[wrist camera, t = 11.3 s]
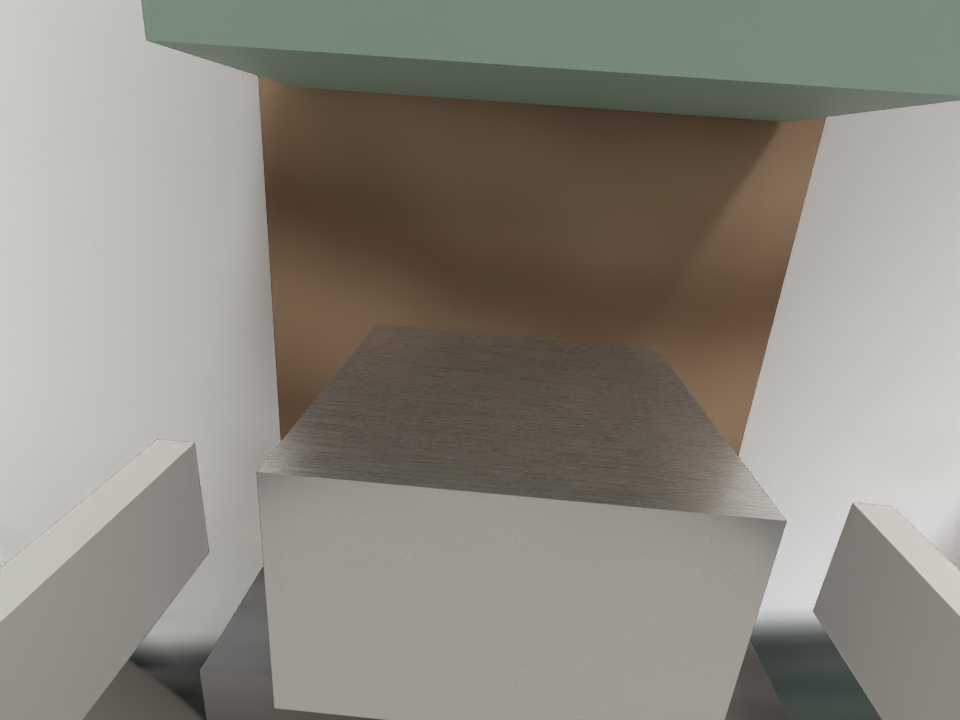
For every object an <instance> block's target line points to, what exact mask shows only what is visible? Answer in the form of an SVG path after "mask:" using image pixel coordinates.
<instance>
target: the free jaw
mask: <svg viewBox="0 0 960 720" xmlns="http://www.w3.org/2000/svg"><path fill="white" fill-rule="evenodd" d="M141 1H142V10H143V18H144V26H145V34H146V40H147V41H150V42H154V43H157V44H160V45H163V46H166V47H169V48H173V49H176V50H179V51H182V52H185V53H188V54H192V55H195V56H198V57H201V58H204V59H207V60H211V61H214V62H217V63H220V64H223V65H226V66H230V67H233V68H236V69H239V70H242V71H245V72H249V73H252V74H255V75H258V76H261V77H264V78H268V79H271V80H274V81H277V82H280V83H283V84H287V85H290V86H293V87H299V88H313V89H327V90H342V91H356V92H370V93H384V94H398V95H413V96H427V97H441V98H455V99H470V100H484V101H498V102H512V103H527V104H541V105H555V106H569V107H584V108H598V109H612V110H626V111H641V112H655V113H669V114H683V115H697V116H712V117H726V118H740V119H754V120H769V121H783V122H788V121H796V120H804V119H812V118H820V117H828V116H836V115H844V114H852V113H860V112H868V111H876V110H884V109H892V108H900V107H908V106H916V105H924V104H932V103H940V102H948V101H956V100H960V0H141Z"/></svg>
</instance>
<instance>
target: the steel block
mask: <svg viewBox="0 0 960 720" xmlns="http://www.w3.org/2000/svg"><path fill="white" fill-rule="evenodd" d="M256 473H257V486H258V499H259V512H260V525H261V538H262V551H263V564H264V577H265V590H266V603H267V616H268V630H269V643H270V656H271V669H272V682H273V695H274V708H278V709H287V710H297V711H307V712H316V713H326V714H335V715H345V716H355V717H364V718H374V719H383V720H725V717H726V714H727V711H728V707H729V704H730V701H731V698H732V695H733V691H734V688H735V685H736V682H737V679H738V675H739V672H740V669H741V666H742V663H743V659H744V656H745V653H746V650H747V647H748V643H749V640H750V637H751V634H752V631H753V627H754V624H755V621H756V618H757V615H758V611H759V608H760V605H761V602H762V598H763V595H764V592H765V589H766V586H767V582H768V579H769V576H770V573H771V570H772V566H773V563H774V560H775V557H776V554H777V550H778V547H779V544H780V541H781V538H782V534H783V531H784V528H785V525H786V522H787V521H786V519H785V518H784V517H783V515H782V514H781V513H780V511H779V510H778V509H777V507H776V506H775V505H774V503H773V502H772V501H771V499H770V498H769V497H768V495H767V494H766V493H765V491H764V490H763V489H762V487H761V486H760V485H759V483H758V482H757V481H756V479H755V478H754V477H753V475H752V474H751V473H750V471H749V470H748V469H747V467H746V466H745V465H744V463H743V462H742V461H741V459H740V458H739V457H738V455H737V454H736V453H735V451H734V450H733V449H732V448H731V446H730V445H729V444H728V442H727V441H726V440H725V438H724V437H723V436H722V434H721V433H720V432H719V430H718V429H717V428H716V426H715V425H714V424H713V422H712V421H711V420H710V418H709V417H708V416H707V414H706V413H705V412H704V410H703V409H702V408H701V406H700V405H699V404H698V402H697V401H696V400H695V398H694V397H693V396H692V394H691V393H690V392H689V390H688V389H687V388H686V386H685V385H684V384H683V382H682V381H681V380H680V378H679V377H678V376H677V374H676V373H675V372H674V370H673V369H672V368H671V366H670V365H669V364H668V362H667V361H666V360H665V358H664V357H663V356H662V354H661V353H660V352H659V350H658V349H657V348H652V347H641V346H629V345H617V344H605V343H594V342H582V341H570V340H558V339H547V338H535V337H523V336H512V335H500V334H488V333H476V332H465V331H453V330H441V329H429V328H418V327H406V326H394V325H382V324H376V325H375V326H374V328H373V329H372V330H371V331H370V332H369V334H368V335H367V336H366V337H365V339H364V340H363V341H362V342H361V344H360V345H359V346H358V347H357V348H356V350H355V351H354V352H353V353H352V355H351V356H350V357H349V358H348V360H347V361H346V362H345V363H344V364H343V366H342V367H341V368H340V369H339V371H338V372H337V373H336V374H335V376H334V377H333V378H332V379H331V380H330V382H329V383H328V384H327V385H326V387H325V388H324V389H323V390H322V392H321V393H320V394H319V395H318V397H317V398H316V399H315V400H314V401H313V403H312V404H311V405H310V406H309V408H308V409H307V410H306V411H305V413H304V414H303V415H302V416H301V417H300V419H299V420H298V421H297V422H296V424H295V425H294V426H293V427H292V429H291V430H290V431H289V432H288V433H287V435H286V436H285V437H284V438H283V440H282V441H281V442H280V443H279V445H278V446H277V447H276V448H275V450H274V451H273V452H272V453H271V454H270V456H269V457H268V458H267V459H266V461H265V462H264V463H263V464H262V466H261V467H260V468H259V469H258V470H257V472H256Z"/></svg>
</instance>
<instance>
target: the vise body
mask: <svg viewBox="0 0 960 720" xmlns="http://www.w3.org/2000/svg"><path fill="white" fill-rule="evenodd" d="M258 79H259V95H260V111H261V128H262V144H263V160H264V176H265V192H266V209H267V225H268V241H269V257H270V274H271V290H272V306H273V322H274V338H275V355H276V371H277V387H278V403H279V420H280V436H281V441H282V440H283V438H284V437H285V436H286V435H287V433H288V432H289V431H290V430H291V429H292V427H293V426H294V425H295V424H296V422H297V421H298V420H299V419H300V417H301V416H302V415H303V414H304V413H305V411H306V410H307V409H308V408H309V406H310V405H311V404H312V403H313V401H314V400H315V399H316V398H317V397H318V395H319V394H320V393H321V392H322V390H323V389H324V388H325V387H326V385H327V384H328V383H329V382H330V380H331V379H332V378H333V377H334V376H335V374H336V373H337V372H338V371H339V369H340V368H341V367H342V366H343V364H344V363H345V362H346V361H347V360H348V358H349V357H350V356H351V355H352V353H353V352H354V351H355V350H356V348H357V347H358V346H359V345H360V344H361V342H362V341H363V340H364V339H365V337H366V336H367V335H368V334H369V332H370V331H371V330H372V329H373V328H374V326H375V325H376V324H382V325H394V326H406V327H418V328H429V329H441V330H453V331H465V332H476V333H488V334H500V335H512V336H523V337H535V338H547V339H558V340H570V341H582V342H594V343H605V344H617V345H629V346H641V347H652V348H657V349H658V350H659V352H660V353H661V354H662V356H663V357H664V358H665V360H666V361H667V362H668V364H669V365H670V366H671V368H672V369H673V370H674V372H675V373H676V374H677V376H678V377H679V378H680V380H681V381H682V382H683V384H684V385H685V386H686V388H687V389H688V390H689V392H690V393H691V394H692V396H693V397H694V398H695V400H696V401H697V402H698V404H699V405H700V406H701V408H702V409H703V410H704V412H705V413H706V414H707V416H708V417H709V418H710V420H711V421H712V422H713V424H714V425H715V426H716V428H717V429H718V430H719V432H720V433H721V434H722V436H723V437H724V438H725V440H726V441H727V442H728V444H729V445H730V446H731V448H732V449H733V450H734V451H735V453H736V454H737V455H739V451H740V447H741V443H742V439H743V435H744V431H745V428H746V424H747V420H748V416H749V412H750V408H751V405H752V401H753V397H754V393H755V389H756V385H757V381H758V378H759V374H760V370H761V366H762V362H763V358H764V354H765V351H766V347H767V343H768V339H769V335H770V331H771V327H772V324H773V320H774V316H775V312H776V308H777V304H778V300H779V297H780V293H781V289H782V285H783V281H784V277H785V273H786V270H787V266H788V262H789V258H790V254H791V250H792V246H793V243H794V239H795V235H796V231H797V227H798V223H799V220H800V216H801V212H802V208H803V204H804V200H805V196H806V193H807V189H808V185H809V181H810V177H811V173H812V169H813V166H814V162H815V158H816V154H817V150H818V146H819V142H820V139H821V135H822V131H823V127H824V123H825V119H826V117H820V118H812V119H804V120H796V121H788V122H783V121H769V120H754V119H740V118H726V117H712V116H697V115H683V114H669V113H655V112H641V111H626V110H612V109H598V108H584V107H569V106H555V105H541V104H527V103H512V102H498V101H484V100H470V99H455V98H441V97H427V96H413V95H398V94H384V93H370V92H356V91H342V90H327V89H313V88H299V87H293V86H290V85H287V84H283V83H280V82H277V81H274V80H271V79H268V78H264V77H261V76H258ZM200 677H201V684H202V691H203V698H204V705H205V712H206V719H207V720H383V719H374V718H364V717H355V716H345V715H335V714H326V713H316V712H307V711H297V710H287V709H278V708H274V695H273V682H272V669H271V656H270V643H269V630H268V616H267V603H266V590H265V577H264V566H263V568H262V569H261V571H260V572H259V574H258V576H257V577H256V579H255V581H254V582H253V584H252V586H251V587H250V589H249V591H248V592H247V594H246V595H245V597H244V599H243V600H242V602H241V604H240V605H239V607H238V609H237V610H236V612H235V614H234V615H233V617H232V619H231V620H230V622H229V623H228V625H227V627H226V628H225V630H224V632H223V633H222V635H221V637H220V638H219V640H218V642H217V643H216V645H215V646H214V648H213V650H212V651H211V653H210V655H209V656H208V658H207V660H206V661H205V663H204V665H203V666H202V668H201V670H200ZM725 720H789V719H788V717H787V714H786V712H785V710H784V708H783V706H782V704H781V702H780V700H779V698H778V696H777V694H776V692H775V690H774V688H773V686H772V684H771V682H770V680H769V678H768V676H767V674H766V672H765V670H764V668H763V666H762V663H761V661H760V659H759V657H758V655H757V653H756V651H755V649H754V647H753V645H752V643H751V641H750V640H749V643H748V647H747V650H746V653H745V656H744V659H743V663H742V666H741V669H740V672H739V675H738V679H737V682H736V685H735V688H734V691H733V695H732V698H731V701H730V704H729V707H728V711H727V714H726V717H725Z"/></svg>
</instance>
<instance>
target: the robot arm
mask: <svg viewBox="0 0 960 720" xmlns="http://www.w3.org/2000/svg"><path fill="white" fill-rule="evenodd" d="M208 553H209V547H208V540H207V532H206V525H205V517H204V509H203V502H202V494H201V487H200V479H199V472H198V464H197V457H196V449H195V443H193V442H182V441H171V440H160V439H157V440H156V441H155V442H154V443H153V444H151V445H150V446H149V447H148V448H146V449H145V450H144V451H143V452H142V453H140V454H139V455H138V456H137V457H135V458H134V459H133V460H132V461H131V462H129V463H128V464H127V465H126V466H124V467H123V468H122V469H121V470H120V471H118V472H117V473H116V474H115V475H114V476H112V477H111V478H110V479H109V480H107V481H106V482H105V483H104V484H103V485H101V486H100V487H99V488H98V489H96V490H95V491H94V492H93V493H92V494H90V495H89V496H88V497H87V498H85V499H84V500H83V501H82V502H81V503H79V504H78V505H77V506H76V507H74V508H73V509H72V510H71V511H70V512H68V513H67V514H66V515H65V516H63V517H62V518H61V519H60V520H59V521H57V522H56V523H55V524H54V525H52V526H51V527H50V528H49V529H48V530H46V531H45V532H44V533H43V534H41V535H40V536H39V537H38V538H37V539H35V540H34V541H33V542H32V543H30V544H29V545H28V546H27V547H26V548H24V549H23V550H22V551H21V552H19V553H18V554H17V555H16V556H15V557H13V558H12V559H11V560H10V561H8V562H7V563H6V564H5V565H4V566H2V567H1V568H0V720H83V719H84V717H85V716H86V715H87V713H88V712H89V711H90V709H91V708H92V707H93V705H94V704H95V703H96V701H97V700H98V699H99V697H100V696H101V695H102V693H103V692H104V691H105V689H106V688H107V687H108V685H109V684H110V683H111V682H112V680H113V679H114V678H115V676H116V675H117V673H118V672H119V671H120V670H121V668H122V667H123V666H124V664H125V663H126V662H127V660H128V659H129V658H130V656H131V655H132V654H133V652H134V651H135V650H136V648H137V647H138V646H139V644H140V643H141V642H142V641H143V639H144V638H145V637H146V635H147V634H148V633H149V631H150V630H151V629H152V627H153V626H154V625H155V623H156V622H157V621H158V619H159V618H160V617H161V615H162V614H163V613H164V611H165V610H166V609H167V607H168V606H169V605H170V603H171V602H172V601H173V599H174V598H175V597H176V596H177V594H178V593H179V592H180V590H181V589H182V588H183V586H184V585H185V584H186V582H187V581H188V580H189V578H190V577H191V576H192V574H193V573H194V572H195V570H196V569H197V568H198V566H199V565H200V564H201V562H202V561H203V560H204V558H205V557H206V556H207V554H208ZM813 612H814V614H815V615H816V617H817V618H818V620H819V621H820V623H821V625H822V626H823V628H824V629H825V631H826V632H827V634H828V636H829V637H830V639H831V640H832V642H833V643H834V645H835V647H836V648H837V650H838V651H839V653H840V654H841V656H842V658H843V659H844V661H845V662H846V664H847V665H848V667H849V668H850V670H851V672H852V673H853V675H854V676H855V678H856V679H857V681H858V683H859V684H860V686H861V687H862V689H863V690H864V692H865V694H866V695H867V697H868V698H869V700H870V701H871V703H872V705H873V706H874V708H875V709H876V711H877V712H878V714H879V716H880V717H881V719H882V720H960V570H959V569H958V568H957V567H956V566H954V565H953V564H952V563H951V562H950V561H949V560H948V559H947V558H946V557H945V556H944V555H943V554H942V553H941V552H940V551H939V550H938V549H937V548H936V547H935V546H934V545H933V544H932V543H930V542H929V541H928V540H927V539H926V538H925V537H924V536H923V535H922V534H921V533H920V532H919V531H918V530H917V529H916V528H915V527H914V526H913V525H912V524H911V523H910V522H909V521H908V520H906V519H905V518H904V517H903V516H902V515H901V514H900V513H899V512H898V511H897V510H896V509H895V508H894V507H893V506H884V505H873V504H862V503H852V506H851V509H850V512H849V514H848V517H847V520H846V522H845V525H844V528H843V531H842V533H841V536H840V539H839V542H838V544H837V547H836V550H835V552H834V555H833V558H832V561H831V563H830V566H829V569H828V572H827V574H826V577H825V580H824V582H823V585H822V588H821V591H820V593H819V596H818V599H817V602H816V604H815V607H814V610H813Z"/></svg>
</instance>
